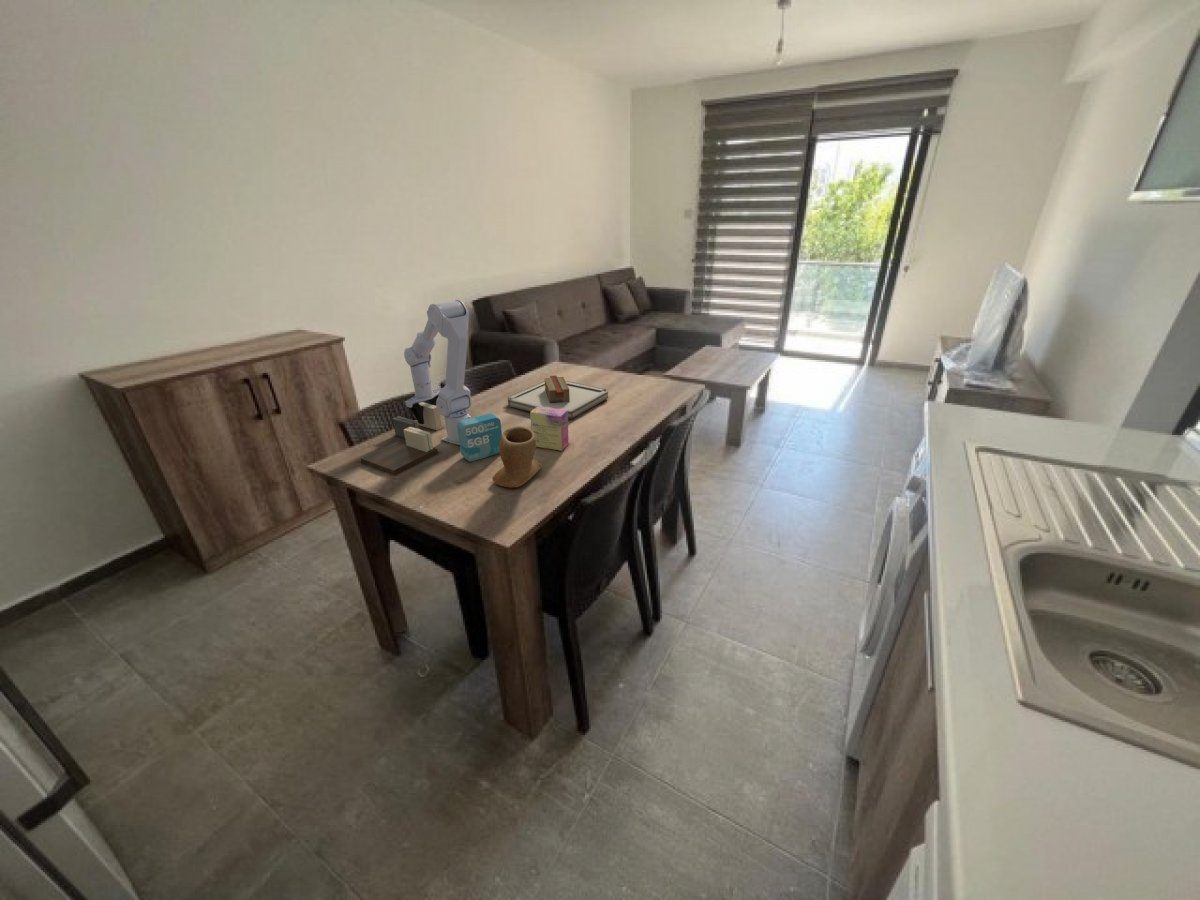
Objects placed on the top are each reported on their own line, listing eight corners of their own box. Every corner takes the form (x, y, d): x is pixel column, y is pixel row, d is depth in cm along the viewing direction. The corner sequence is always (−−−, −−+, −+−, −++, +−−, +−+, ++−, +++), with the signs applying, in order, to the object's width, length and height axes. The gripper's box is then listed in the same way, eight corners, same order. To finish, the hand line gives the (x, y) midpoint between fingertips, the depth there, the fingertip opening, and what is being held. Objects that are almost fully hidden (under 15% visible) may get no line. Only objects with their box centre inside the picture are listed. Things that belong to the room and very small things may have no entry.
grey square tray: (611, 397, 191) (611, 379, 188) (567, 422, 168) (566, 402, 165) (551, 384, 205) (550, 367, 202) (503, 406, 183) (501, 387, 180)
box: (569, 443, 153) (567, 409, 148) (562, 451, 149) (560, 416, 143) (539, 439, 156) (537, 405, 151) (532, 446, 152) (529, 412, 146)
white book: (442, 427, 165) (438, 406, 161) (436, 430, 163) (433, 408, 160) (424, 422, 169) (420, 401, 166) (418, 425, 167) (414, 403, 164)
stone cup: (523, 495, 126) (519, 444, 119) (487, 485, 130) (480, 435, 124) (553, 470, 138) (550, 422, 131) (519, 461, 142) (514, 415, 136)
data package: (467, 463, 142) (461, 426, 136) (461, 457, 145) (455, 421, 140) (504, 452, 148) (500, 416, 143) (497, 447, 151) (493, 412, 146)
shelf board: (438, 453, 148) (437, 448, 147) (394, 475, 136) (393, 470, 135) (405, 442, 155) (404, 438, 154) (361, 462, 142) (360, 458, 142)
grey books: (420, 437, 158) (417, 421, 155) (413, 441, 156) (410, 424, 153) (402, 432, 162) (398, 415, 159) (395, 435, 160) (392, 418, 157)
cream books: (433, 448, 147) (430, 432, 145) (426, 452, 145) (423, 435, 143) (413, 442, 151) (410, 426, 149) (406, 445, 149) (403, 429, 147)
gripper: (431, 374, 166) (437, 411, 172) (396, 386, 155) (404, 425, 161) (445, 378, 163) (451, 414, 169) (411, 390, 152) (418, 429, 158)
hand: (429, 420), depth 165 cm, fingers open, 6 cm apart
